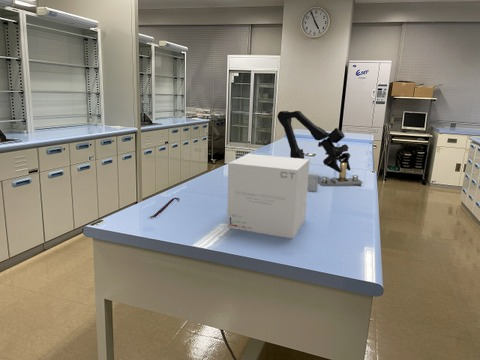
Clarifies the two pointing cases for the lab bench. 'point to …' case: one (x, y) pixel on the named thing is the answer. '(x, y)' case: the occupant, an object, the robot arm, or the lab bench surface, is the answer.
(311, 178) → the medicine box
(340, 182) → the metal bracket
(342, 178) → the brass pin
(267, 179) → the cube
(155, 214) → the crowbar
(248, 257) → the lab bench surface
